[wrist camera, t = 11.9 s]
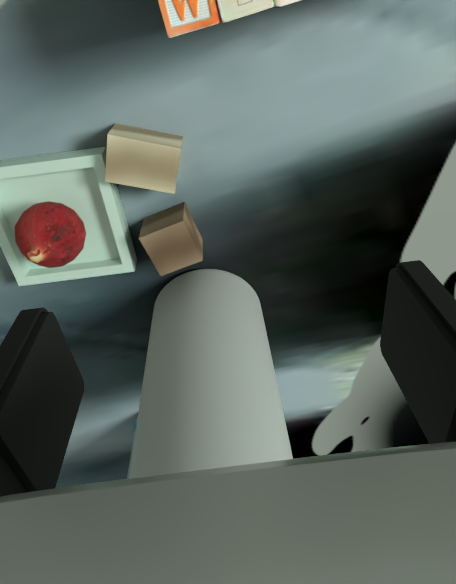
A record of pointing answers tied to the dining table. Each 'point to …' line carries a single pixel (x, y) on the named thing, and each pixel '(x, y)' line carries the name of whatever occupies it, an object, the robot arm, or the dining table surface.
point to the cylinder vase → (208, 381)
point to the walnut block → (171, 239)
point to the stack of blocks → (209, 12)
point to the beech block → (142, 158)
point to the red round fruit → (50, 234)
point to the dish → (76, 195)
